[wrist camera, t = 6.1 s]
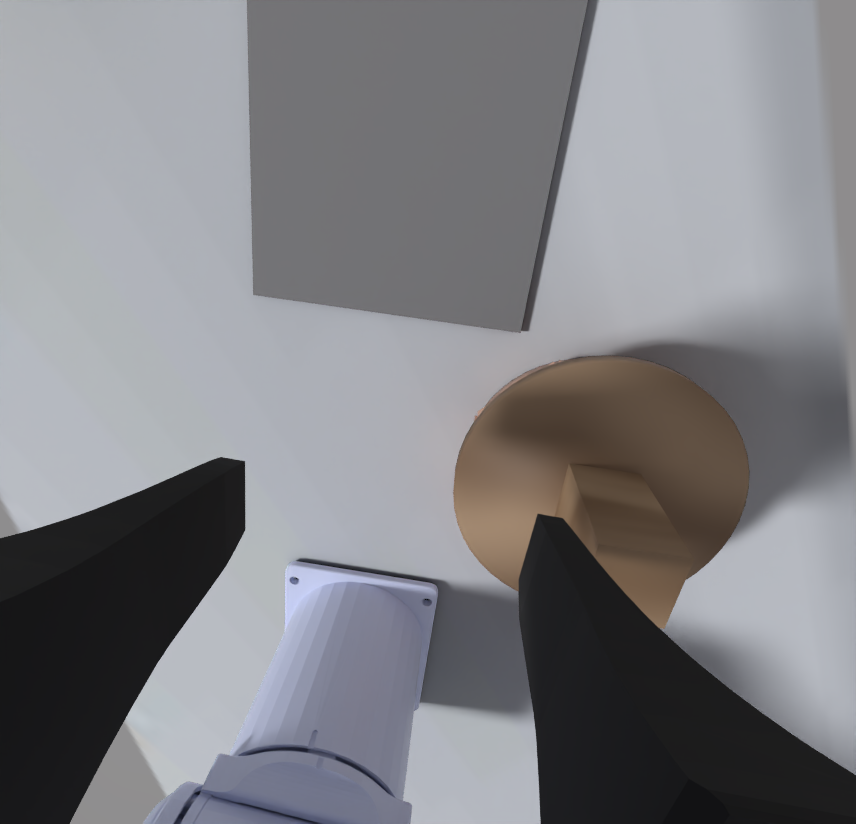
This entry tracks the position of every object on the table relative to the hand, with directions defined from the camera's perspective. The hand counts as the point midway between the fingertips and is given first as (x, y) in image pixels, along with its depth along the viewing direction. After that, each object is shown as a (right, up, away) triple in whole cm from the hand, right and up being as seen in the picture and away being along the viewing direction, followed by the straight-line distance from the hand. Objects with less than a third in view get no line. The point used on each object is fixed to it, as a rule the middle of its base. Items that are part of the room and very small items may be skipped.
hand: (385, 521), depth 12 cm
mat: (0, +12, +6) cm, 13 cm away
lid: (+7, 0, +7) cm, 10 cm away
